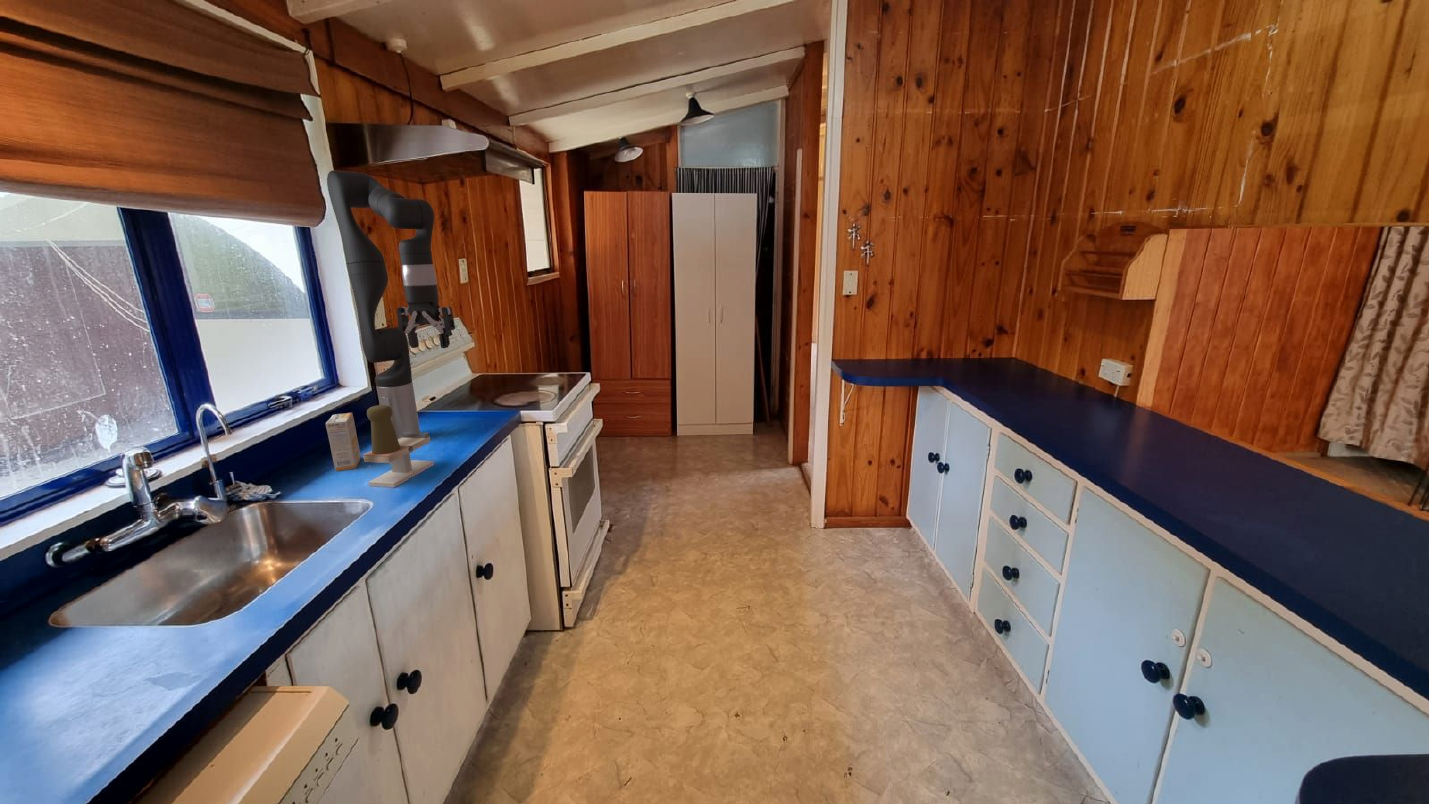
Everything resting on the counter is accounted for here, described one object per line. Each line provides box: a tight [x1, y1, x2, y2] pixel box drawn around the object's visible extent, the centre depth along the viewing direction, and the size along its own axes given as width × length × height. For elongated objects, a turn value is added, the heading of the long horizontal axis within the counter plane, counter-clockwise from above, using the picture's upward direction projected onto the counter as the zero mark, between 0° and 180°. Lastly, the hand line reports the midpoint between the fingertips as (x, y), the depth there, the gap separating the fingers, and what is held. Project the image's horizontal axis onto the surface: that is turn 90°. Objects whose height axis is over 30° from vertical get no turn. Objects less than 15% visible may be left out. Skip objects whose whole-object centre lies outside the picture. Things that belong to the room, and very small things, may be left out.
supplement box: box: [325, 412, 362, 472], centre depth 148 cm, size 8×5×13 cm, turn 22°
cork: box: [366, 404, 400, 455], centre depth 135 cm, size 6×6×11 cm
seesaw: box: [362, 431, 431, 464], centre depth 140 cm, size 7×15×2 cm, turn 170°
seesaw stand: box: [367, 453, 435, 488], centre depth 141 cm, size 7×15×6 cm, turn 170°
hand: (429, 347), depth 146 cm, fingers open, 8 cm apart
